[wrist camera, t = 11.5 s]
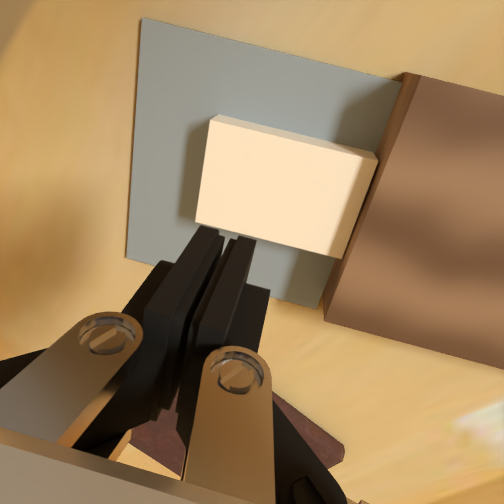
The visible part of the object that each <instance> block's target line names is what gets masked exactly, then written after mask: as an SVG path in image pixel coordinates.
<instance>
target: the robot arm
mask: <svg viewBox="0 0 504 504" xmlns="http://www.w3.org/2000/svg"><path fill="white" fill-rule="evenodd" d="M224 241H225V236H221V235H219V230H218V229H214V228H211V227H207V226H203V225H200V226H199V228H198V229H197V231H196V232H195V234H194V235H193V237H192V238H191V240H190V241H189V243H188V244H187V246H186V247H185V249H184V250H183V252H182V253H181V255H180V256H179V258H178V259H177V261H176V262H175V263H172V262H168V261H165V260H160V261H159V262H158V263H157V265H156V266H155V267H154V269H153V270H152V271H151V273H150V274H149V275H148V277H147V278H146V280H145V281H144V282H143V284H142V285H141V286H140V288H139V289H138V290H137V292H136V293H135V294H134V296H133V297H132V298H131V300H130V301H129V302H128V304H127V305H126V306H125V308H124V309H123V310H122V312H121V313H119V312H101V313H96V314H93V315H90V316H87V317H86V318H84V319H82V320H81V321H79V322H78V323H77V324H76V325H74V326H73V327H72V328H71V329H70V330H69V331H68V332H66V333H65V334H64V335H63V336H62V337H61V338H59V339H58V340H57V341H56V342H55V343H54V344H52V345H51V346H50V347H49V348H46V349H42V350H39V351H35V352H31V353H28V354H24V355H20V356H17V357H13V358H9V359H6V360H2V361H0V504H357V503H355V502H354V501H352V500H350V499H348V498H346V496H345V494H344V492H343V491H342V489H341V487H340V486H339V484H338V483H337V481H336V480H335V479H334V477H333V476H332V475H331V474H330V472H329V471H328V470H327V468H326V467H325V466H324V465H323V463H322V462H321V461H320V459H319V458H318V457H317V456H316V454H315V453H314V452H313V450H312V449H311V448H310V447H309V445H308V444H307V443H306V441H305V440H304V439H303V438H302V436H301V435H300V434H299V432H298V431H297V430H296V429H295V427H294V426H293V425H292V423H291V422H290V421H289V419H288V418H287V417H286V416H285V414H284V413H283V412H282V410H281V409H280V408H279V407H278V405H277V404H276V403H275V401H274V400H273V399H272V377H271V372H270V368H269V367H268V365H267V363H266V362H265V360H264V359H263V358H262V357H260V356H259V355H258V354H257V352H258V348H259V343H260V338H261V334H262V329H263V324H264V320H265V315H266V310H267V306H268V301H269V296H270V291H271V290H270V289H266V288H263V287H259V286H255V285H252V284H248V283H246V282H247V278H248V274H249V270H250V266H251V262H252V258H253V254H254V250H255V246H256V242H257V240H255V239H251V238H247V237H244V236H240V235H239V236H238V238H237V240H236V239H232V238H230V240H229V242H228V244H227V246H226V248H225V250H224V252H223V254H222V251H223V246H224ZM178 389H179V392H178V398H177V404H176V410H175V413H178V419H177V424H176V431H177V432H178V434H179V436H180V438H181V440H182V442H183V444H184V446H185V447H186V451H185V456H184V462H183V468H182V473H181V479H180V480H176V479H173V478H170V477H166V476H163V475H160V474H156V473H153V472H150V471H146V470H143V469H140V468H136V467H133V466H130V465H126V464H123V463H120V462H116V460H117V458H118V457H119V456H120V454H121V453H122V451H123V450H124V448H125V447H126V445H127V444H128V442H129V441H130V439H131V437H132V435H133V433H134V430H135V427H137V426H139V425H142V424H144V423H146V422H149V421H150V420H152V421H155V422H156V421H157V419H158V417H159V415H160V412H161V410H162V409H165V410H168V411H169V410H170V408H171V406H172V403H173V401H174V399H175V396H176V394H177V391H178ZM358 504H369V503H367V502H365V501H363V500H361V501H360V502H359V503H358Z"/></svg>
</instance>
